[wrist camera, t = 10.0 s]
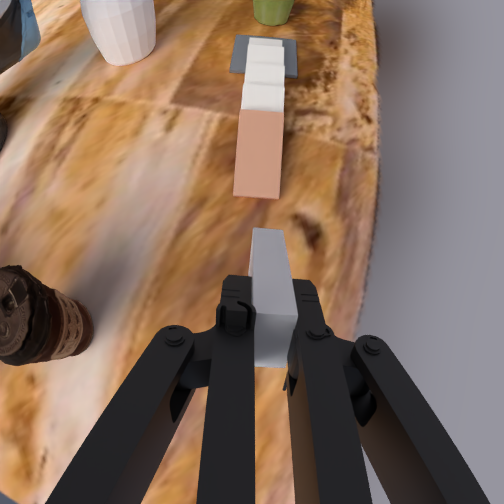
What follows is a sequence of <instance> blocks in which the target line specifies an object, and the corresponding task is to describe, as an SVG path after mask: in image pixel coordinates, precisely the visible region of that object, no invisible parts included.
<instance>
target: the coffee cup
mask: <svg viewBox="0 0 504 504" xmlns="http://www.w3.org/2000/svg"><path fill="white" fill-rule="evenodd" d="M92 335H93V323H92V319H91V316H90V314H89V312H88V310H87V308H86V307H85V306H84V305H83V304H81V302H80V301H79V300H74V299H70V298H67V297H66V296H65V295H63V294H62V293H60V292H59V291H58V290H56V289H51V288H49V287H47V286H46V285H44V284H42V283H41V281H39V280H38V279H36V278H35V277H34V276H32V275H31V274H30V273H29V272H27V271H25V270H24V269H22V266H21V265H17V266H10V265H8V266H5V267H2V268H0V360H1V361H2V362H4V363H5V364H9V365H13V366H20V365H24V364H29V363H38V362H47V361H50V360H56V359H63V358H66V357H68V356H76V355H78V354H80V353H82V352H83V351H85V350H86V349H87V347H88V346H89V344H90V342H91V339H92Z"/></svg>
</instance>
